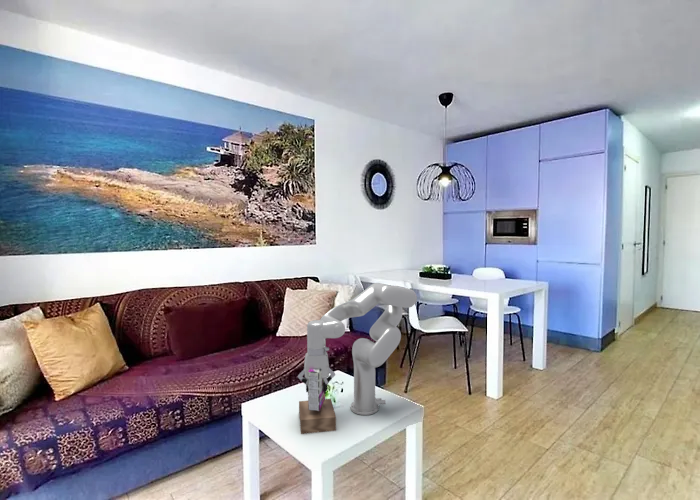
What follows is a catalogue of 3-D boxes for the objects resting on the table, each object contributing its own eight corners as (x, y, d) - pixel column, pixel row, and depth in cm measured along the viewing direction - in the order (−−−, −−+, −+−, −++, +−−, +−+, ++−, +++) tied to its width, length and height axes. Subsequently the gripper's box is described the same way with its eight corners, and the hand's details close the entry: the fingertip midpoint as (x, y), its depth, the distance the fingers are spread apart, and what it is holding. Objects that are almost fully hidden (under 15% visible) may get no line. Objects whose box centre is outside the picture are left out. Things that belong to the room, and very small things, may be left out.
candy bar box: (314, 397, 162) (314, 361, 161) (325, 398, 161) (325, 361, 160) (307, 410, 151) (307, 371, 150) (319, 411, 150) (319, 372, 149)
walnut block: (330, 411, 165) (330, 398, 165) (335, 431, 150) (335, 416, 149) (299, 414, 163) (299, 401, 162) (300, 434, 147) (300, 420, 147)
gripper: (336, 346, 159) (336, 387, 160) (295, 348, 156) (295, 390, 158) (338, 352, 152) (338, 395, 153) (295, 355, 149) (296, 398, 150)
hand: (316, 392), depth 155 cm, fingers closed on candy bar box, 6 cm apart
